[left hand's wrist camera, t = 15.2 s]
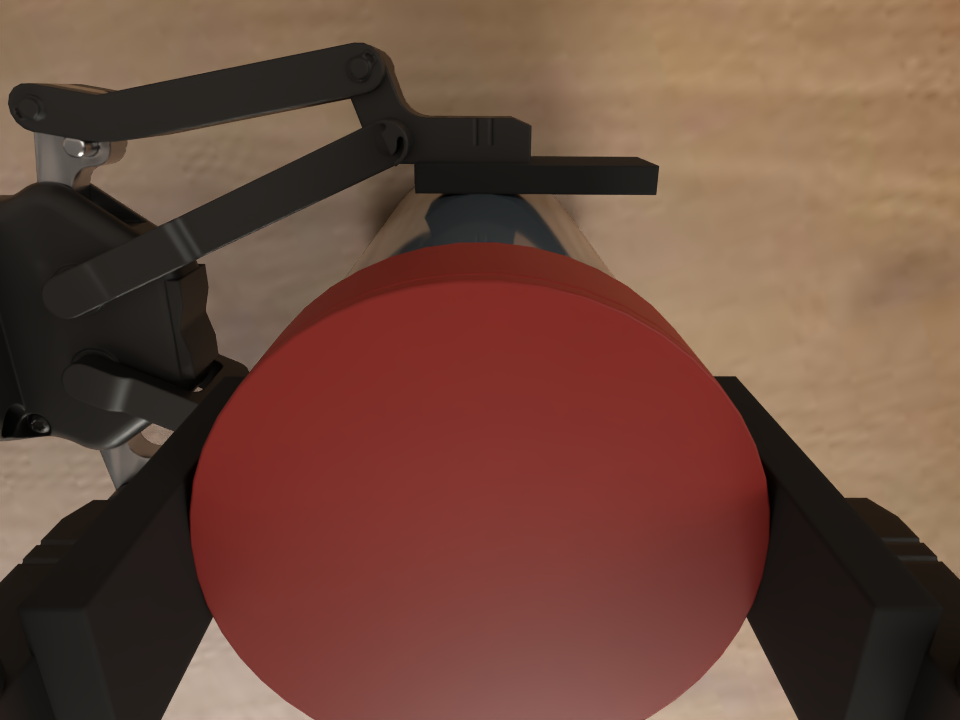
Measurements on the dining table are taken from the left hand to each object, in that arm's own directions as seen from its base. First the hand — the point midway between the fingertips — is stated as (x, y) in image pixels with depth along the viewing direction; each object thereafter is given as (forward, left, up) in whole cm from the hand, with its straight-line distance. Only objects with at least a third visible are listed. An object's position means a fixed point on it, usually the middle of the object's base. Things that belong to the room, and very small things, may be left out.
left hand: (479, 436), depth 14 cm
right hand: (-5, -1, -7) cm, 9 cm away
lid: (0, 0, +4) cm, 4 cm away
